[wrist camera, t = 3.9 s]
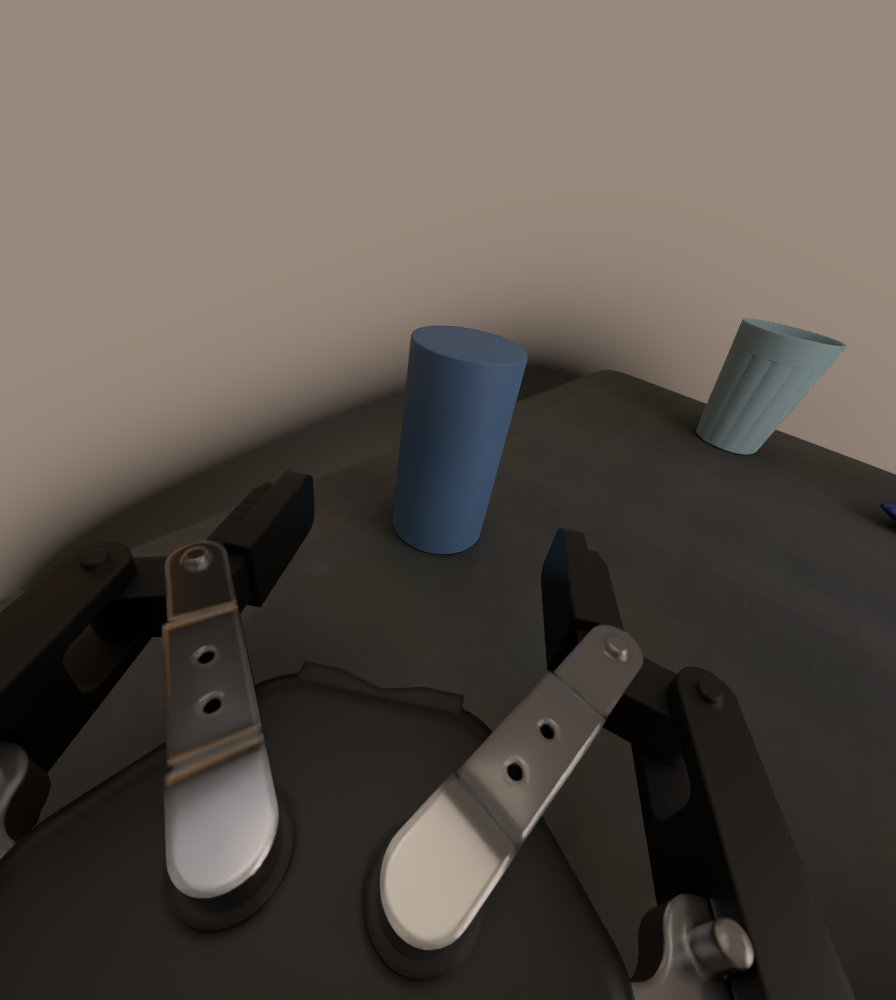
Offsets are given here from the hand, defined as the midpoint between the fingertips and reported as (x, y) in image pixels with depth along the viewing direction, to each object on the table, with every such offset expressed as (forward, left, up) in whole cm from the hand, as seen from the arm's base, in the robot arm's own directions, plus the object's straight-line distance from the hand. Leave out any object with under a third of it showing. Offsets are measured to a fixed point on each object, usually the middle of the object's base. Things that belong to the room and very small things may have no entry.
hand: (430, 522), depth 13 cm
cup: (+37, +13, -6) cm, 39 cm away
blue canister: (+4, +7, -6) cm, 10 cm away
